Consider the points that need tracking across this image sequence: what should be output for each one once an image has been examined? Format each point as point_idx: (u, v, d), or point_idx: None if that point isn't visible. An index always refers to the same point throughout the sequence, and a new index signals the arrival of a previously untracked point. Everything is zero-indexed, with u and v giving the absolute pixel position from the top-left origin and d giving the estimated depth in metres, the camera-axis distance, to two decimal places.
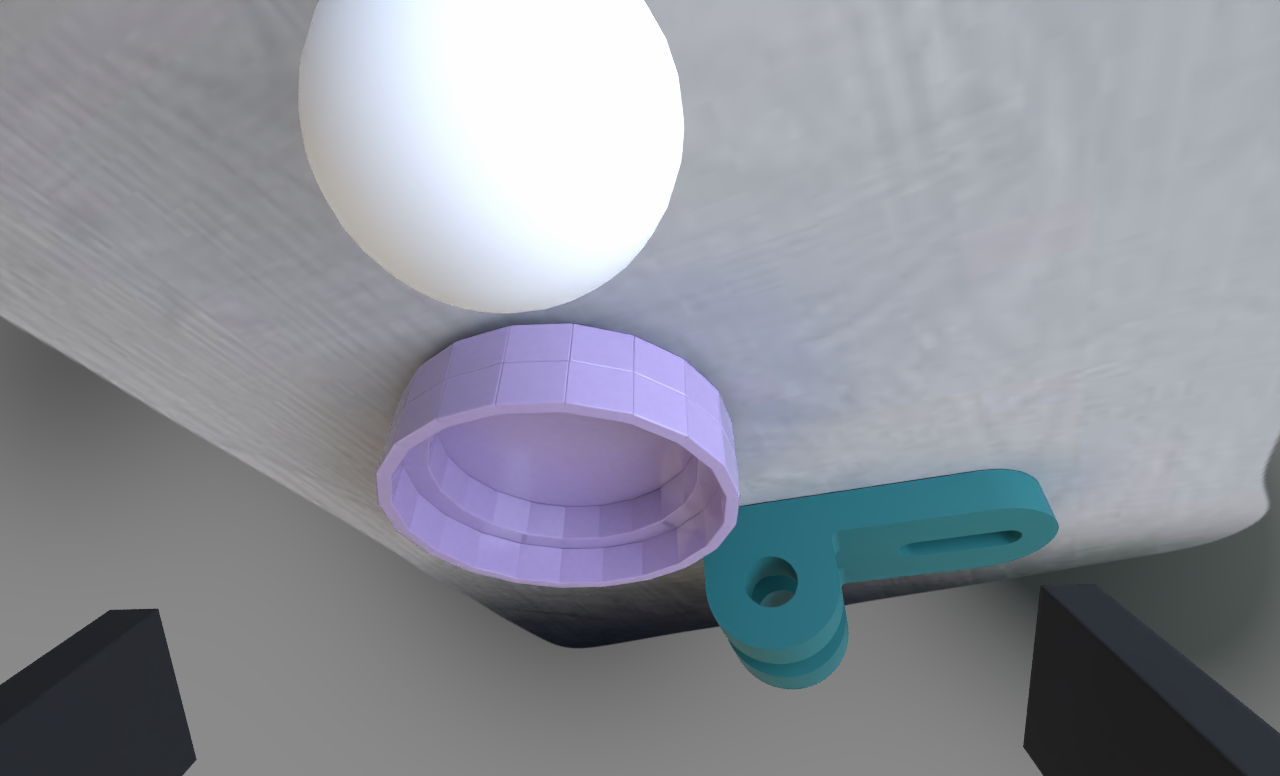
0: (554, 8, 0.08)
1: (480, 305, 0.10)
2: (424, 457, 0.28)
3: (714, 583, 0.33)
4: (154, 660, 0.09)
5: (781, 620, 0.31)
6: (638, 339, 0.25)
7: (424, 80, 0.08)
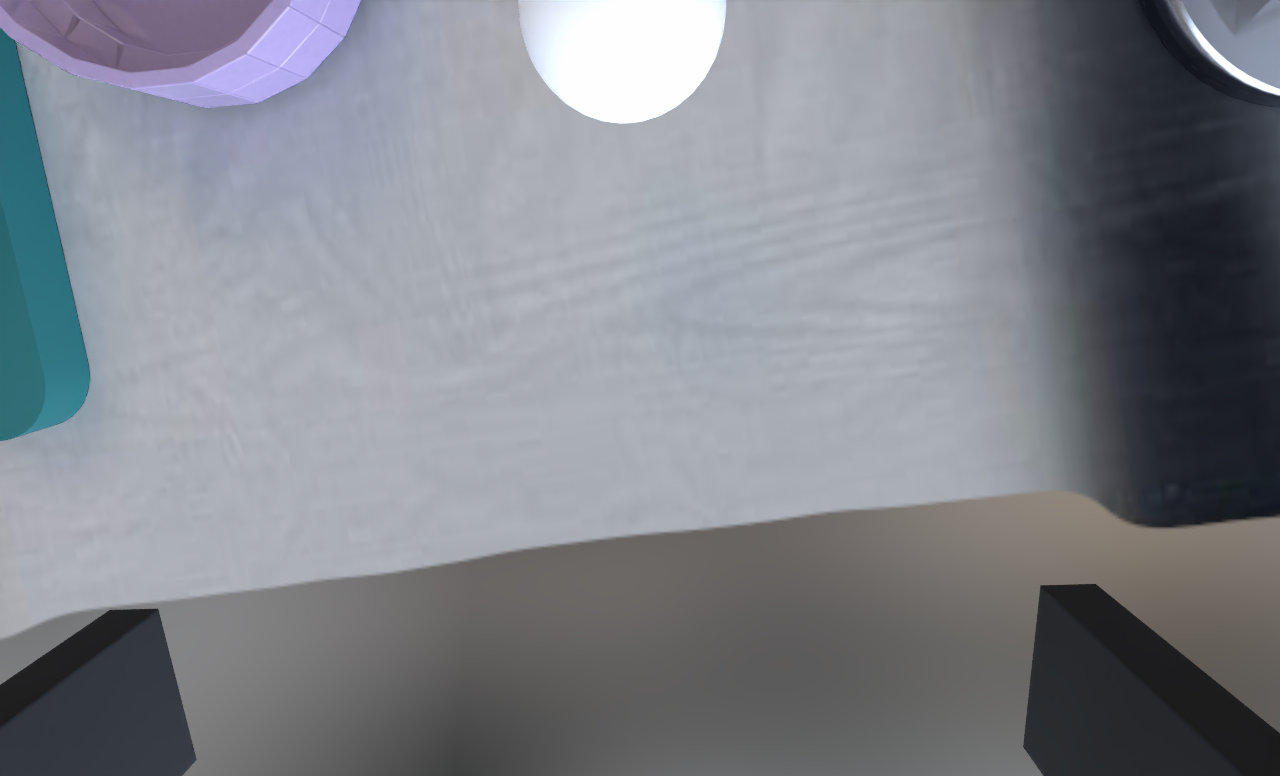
0: (686, 68, 0.18)
1: None
2: None
3: None
4: (154, 660, 0.09)
5: None
6: (340, 40, 0.26)
7: None
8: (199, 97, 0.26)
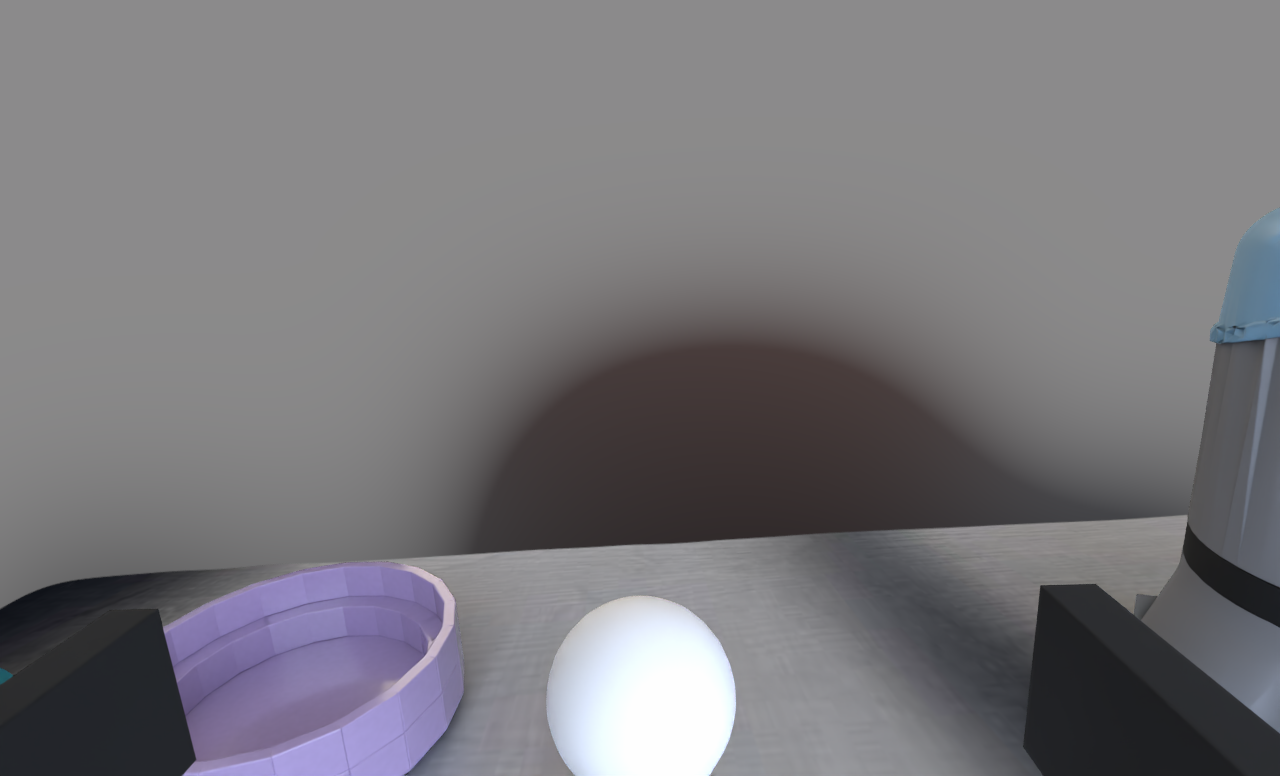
0: (695, 700, 0.18)
1: (596, 610, 0.21)
2: (410, 614, 0.36)
3: None
4: (154, 659, 0.09)
5: None
6: None
7: (696, 637, 0.20)
8: None
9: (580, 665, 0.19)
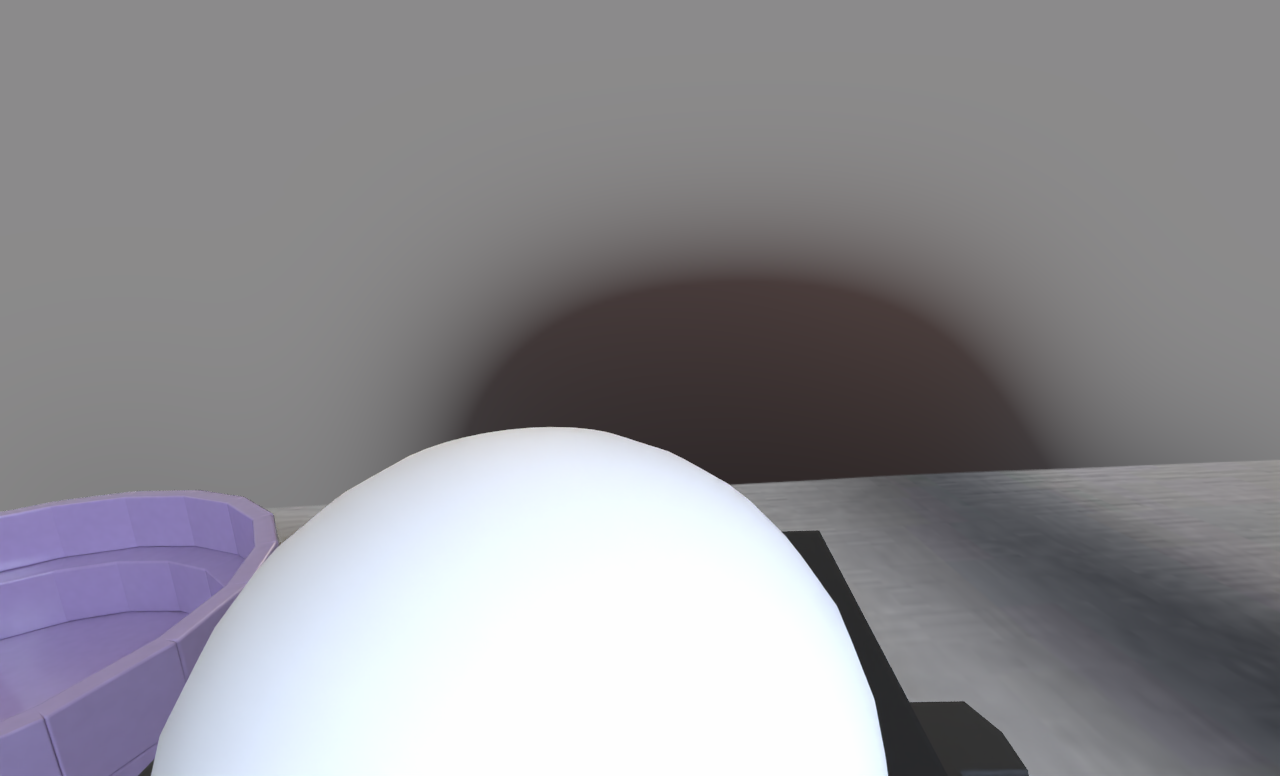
0: None
1: None
2: (219, 574, 0.21)
3: None
4: None
5: None
6: None
7: (745, 537, 0.05)
8: None
9: (234, 642, 0.04)
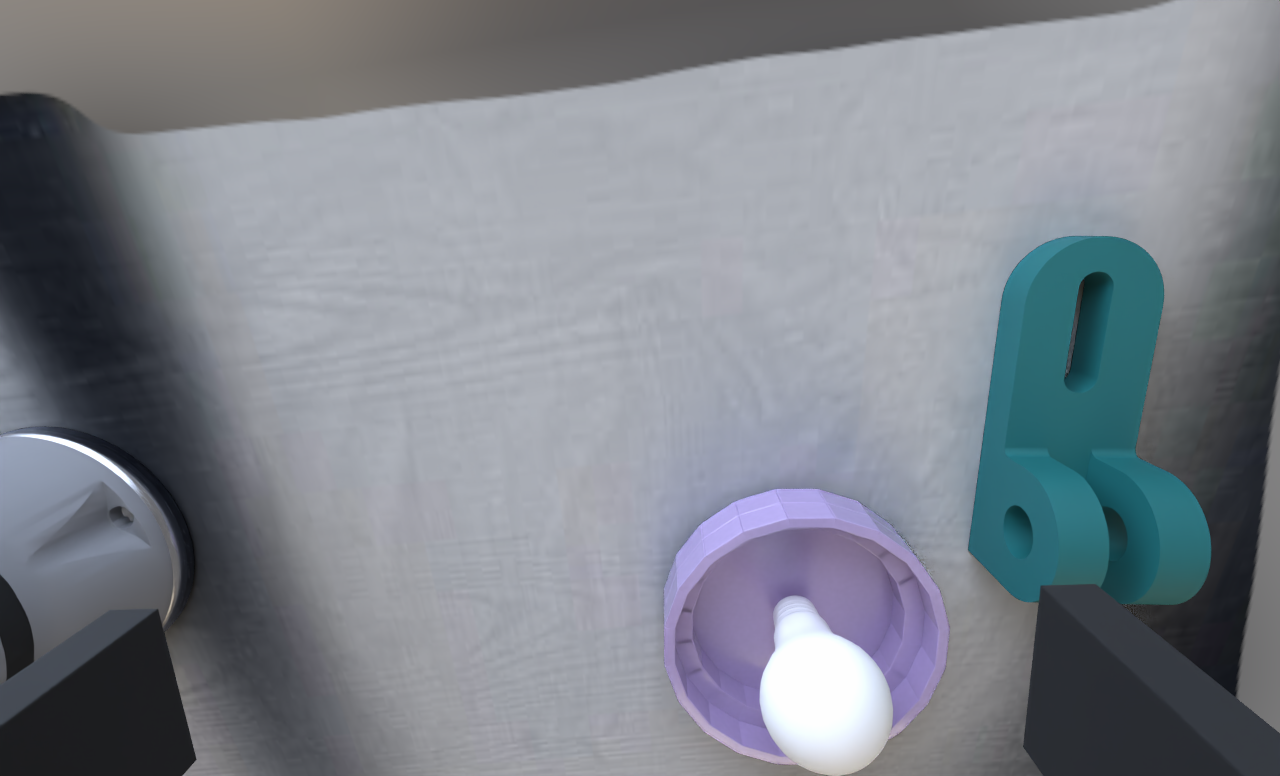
0: (794, 684, 0.29)
1: (869, 758, 0.28)
2: (734, 702, 0.38)
3: (1007, 580, 0.33)
4: (153, 660, 0.09)
5: (1041, 546, 0.30)
6: (703, 522, 0.37)
7: (795, 731, 0.28)
8: (805, 501, 0.35)
9: (875, 708, 0.28)
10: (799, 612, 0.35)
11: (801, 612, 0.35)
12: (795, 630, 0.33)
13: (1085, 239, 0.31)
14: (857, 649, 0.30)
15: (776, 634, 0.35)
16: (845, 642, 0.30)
